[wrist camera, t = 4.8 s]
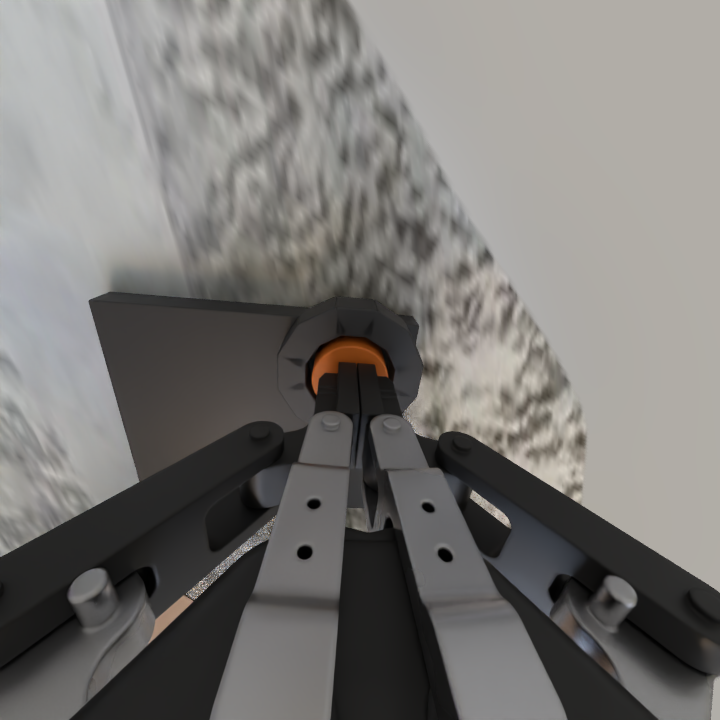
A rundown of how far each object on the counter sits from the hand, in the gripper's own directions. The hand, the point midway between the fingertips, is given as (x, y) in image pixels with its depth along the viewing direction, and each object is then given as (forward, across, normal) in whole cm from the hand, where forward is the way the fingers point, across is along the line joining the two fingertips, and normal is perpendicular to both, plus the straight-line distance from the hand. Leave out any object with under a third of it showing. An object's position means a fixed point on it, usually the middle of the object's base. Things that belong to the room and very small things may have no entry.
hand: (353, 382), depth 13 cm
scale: (+3, +4, +4) cm, 7 cm away
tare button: (+2, 0, 0) cm, 2 cm away
